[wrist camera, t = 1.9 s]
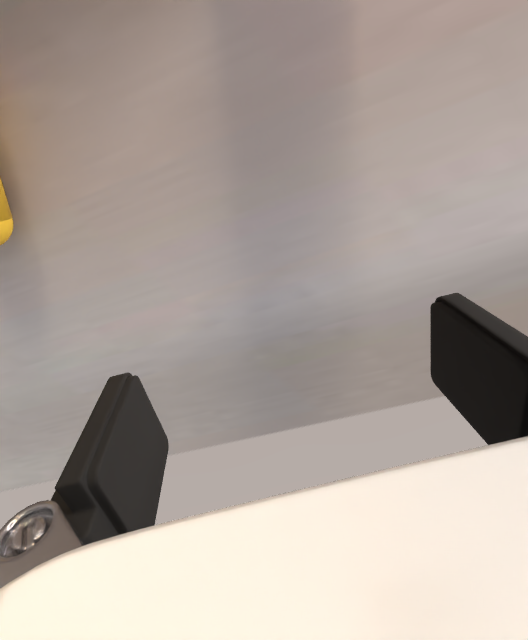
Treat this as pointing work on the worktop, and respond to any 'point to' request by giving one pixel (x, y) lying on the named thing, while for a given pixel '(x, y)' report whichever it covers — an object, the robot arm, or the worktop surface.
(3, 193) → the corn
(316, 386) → the worktop surface
